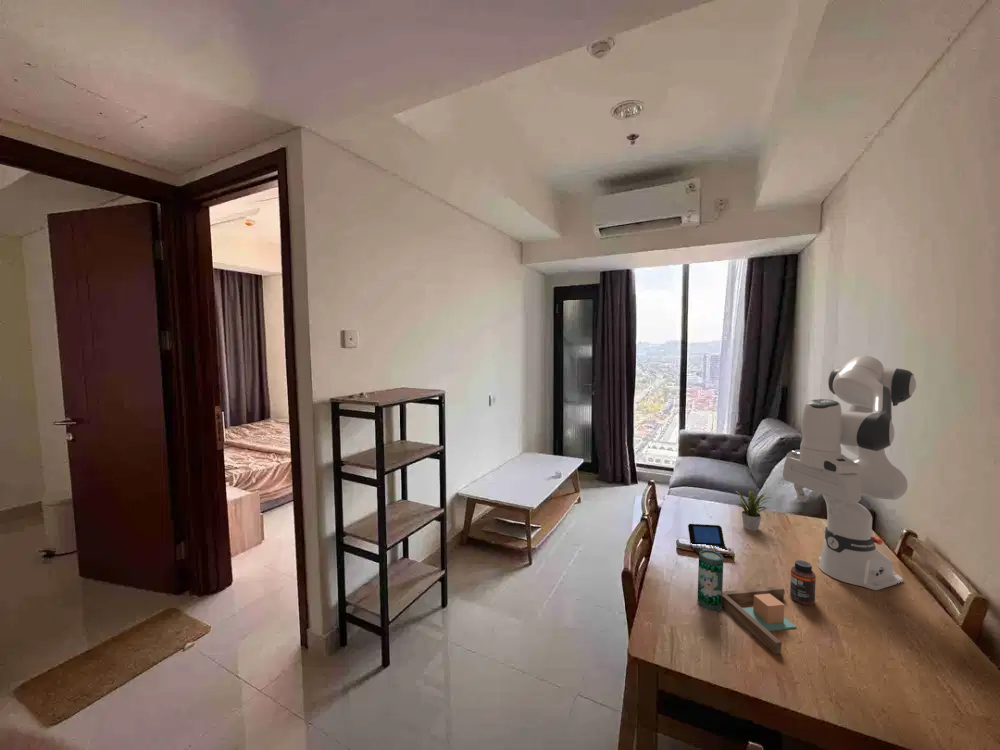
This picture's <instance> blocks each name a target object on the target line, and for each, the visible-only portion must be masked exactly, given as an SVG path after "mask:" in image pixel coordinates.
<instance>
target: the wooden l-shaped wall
mask: <svg viewBox="0 0 1000 750" xmlns="http://www.w3.org/2000/svg"><path fill="white" fill-rule="evenodd" d="M759 594H771V595H772V596H774V597H775V598H776V599H778V600H782V599H783V600H784V598H785V597H784V596H785V588H783V587H782V586H781V585H778V586H776V585H775V586H768V587H767V586H766V587H765V586H764V587H756V588H746V589H745V588H744V589H735V590H724V591H723V590H722V607H723V608H724V609H725V610H726V611H727V612H728V613H730V614H731V615H732V616H733V617H734V618H735V619H737V620H738V622H739V623H740V624H742V625H743V626H744V627H745V628H746V629H747V630H748V631H749V632H750V633H751V634H752V635H753V636H755V638H757V639H758V640H759V641H760V642H762V644H764V645H765V646H766V647H767V648H768V649H769V650H770V651H771V652H772V653H773V654H775V655H781V654H782V641H781V640H780V639H778V638H777V637H776V636H775V635H774V634H772V633H771V631H768V630H767V629H766V628H765V627H763V626H762V625H761V624H760V623H759V622H758V621H756V620H755V619H754V618H753V617H752V616H751V615H749V614H748V613H747V612H746V611H745V610H744V609H743V608H744V607H742V606H740V605H739V604H741V603H744V604H745V603H750V602H751V603H754V595H759Z"/></svg>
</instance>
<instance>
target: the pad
mask: <svg viewBox="0 0 1000 750" xmlns="http://www.w3.org/2000/svg"><path fill="white" fill-rule="evenodd" d="M742 608H743V609H744V610H745V611H746V612H747V613H748V614H749V615H751V616H752V617H753V618H754V619H755V620H756V621H758V622H759V623H760V624H761V625H762V626H763V627H765V628H766V629H767V630H768V631H769V632H771V631H772V632H773V631H779V630H790V629H796V628H797V626H796V625H795V624H794V623H792V622H791V621H790V620H789V619H787V618H786V617H785V616H784V622H780V623H771V624H767V623H766V622H764V621H763V620H762V619H761V618H760V617H759V616H757V615H756V614H755V613H754V612H753V606H749V607H742Z"/></svg>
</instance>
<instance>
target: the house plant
mask: <svg viewBox="0 0 1000 750" xmlns="http://www.w3.org/2000/svg"><path fill="white" fill-rule="evenodd" d="M735 492H736V493H737V494H738V496H739V498H741V499H740V500H739V501H740V503H739V502H738V503H736V505H738V507H741V508H742V509H743V510H742V511H741V518H742V525H743V529H745V530H748V531H752V532H757V531H759V528H760V523H761V519H762V514H760V512H762V511H764V510H767V509H770V506H769V507H767V506H762V505H763V504H765V503H769V501H765V500H767V499H772V497H765V495H766V492H765V493H762V494H761V495H760V496H759V497H757V496H756V494H755V491H754V490H748V499H747V500H748V502H747V501H746V500H745V499H746V498H744V496H743V495H742V494H741V493H740V492H738V491H737V490H735ZM763 497H764V498H763ZM756 498H757V499H756ZM763 501H764V502H763ZM760 503H761V504H760Z"/></svg>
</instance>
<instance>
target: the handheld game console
mask: <svg viewBox="0 0 1000 750" xmlns="http://www.w3.org/2000/svg"><path fill="white" fill-rule="evenodd" d="M687 529H688V535H689V537H688V538H689V542H690V543H692V544H706V545H712V546H716V547H719V548H722V549H725V550H729V549H728V547H726V544H725V540H724V533H723V529H722V526H720V525H719V524H700V523H699V524H698V523H689V524H687ZM702 550H707V549H702V548H701V549H700V548H694V549H693V551H694V552H695V554H697V555H698V556H699V552H700V551H702ZM717 553H720V552H717ZM720 554H721V555H723V557H725V555H730V554H726V553H720Z"/></svg>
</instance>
